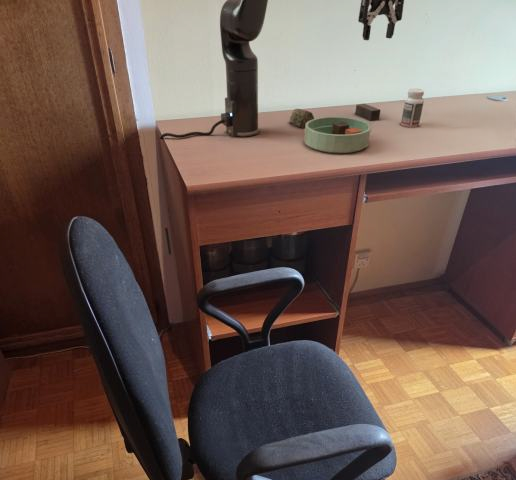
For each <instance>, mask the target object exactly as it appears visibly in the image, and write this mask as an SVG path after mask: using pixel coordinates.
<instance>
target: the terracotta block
mask: <svg viewBox="0 0 516 480" xmlns="http://www.w3.org/2000/svg"><path fill="white" fill-rule="evenodd" d="M361 132H363V131H361V130H359V129H357V128H351V129H346V130H345V135H347V134H356V133H361Z"/></svg>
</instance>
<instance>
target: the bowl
mask: <svg viewBox="0 0 516 480" xmlns="http://www.w3.org/2000/svg"><path fill="white" fill-rule="evenodd" d="M340 122H344V123H346V124H348V125H349V129H351V128H357V129H359V130H361V131H363V132H361V133H356V134H347V135H336V134H332V130H333V123H340ZM371 133H372V125H371V124H370V123H368V122H367V121H364V120H363V119H359V118H353V117H347V116H346V117H345V116H322V117H317V118H314V119H312V120H310V121H308V122H307V123H306V124H305V126H304V139H303V140H304V141H303V142H304V144H305V145H306V146H308V147H310V148H311V149H314V150H316V151H319V152H323V153H328V154H350V153H356V152H359V151H362V150H363V149H366V148H367V147H368V146H369V144H370V140H371Z"/></svg>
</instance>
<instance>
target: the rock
mask: <svg viewBox="0 0 516 480" xmlns="http://www.w3.org/2000/svg"><path fill="white" fill-rule="evenodd" d="M312 119H315V116H314V114H313V113H312V112H311V111H310V110H305V109H301V108H295V109H293V110H292V112H291V115H290V117H289V124H292V125H294V126H295V127H298V128H300V129H305V124H306V123H307V122H308V121H310V120H312Z"/></svg>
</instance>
